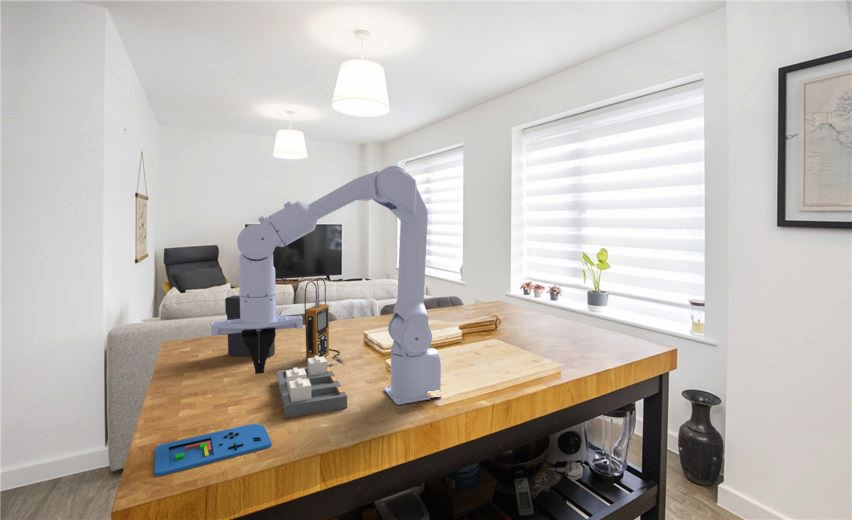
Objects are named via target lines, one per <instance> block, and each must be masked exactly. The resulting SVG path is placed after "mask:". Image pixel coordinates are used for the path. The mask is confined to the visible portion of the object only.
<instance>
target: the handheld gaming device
mask: <svg viewBox="0 0 852 520" xmlns="http://www.w3.org/2000/svg"><path fill="white" fill-rule="evenodd" d="M272 446H273V443H272V440H271V438H270V436H269V433H268V432H267V429H266V427H265V426H264V425H261V424H259V423H258V424H257V423H249V424H245V425H241V426H237V427H236V426H235V427H232V428H228V429H222V430H219V431H215V432H210V433H206V434H205V433H204V434H202V435H197V436H192V437H189V438H188V437H187V438H184V439H179V440H175V441H170V442H166V443H161V444H159V445H157V446H156V447H155V450H154V466H153V467H154V469H153V473H154V475H153V476H155V477H161V476H165V475H170V474H172V473H176V472H181V471H185V470H189V469H192V468H197V467H200V466H204V465H208V464H212V463H215V462H219V461H223V460H226V459H230V458H234V457H239V456H243V455H246V454H250V453H253V452H258V451H261V450H267V449H270V448H271V447H272Z"/></svg>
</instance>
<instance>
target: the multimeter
mask: <svg viewBox="0 0 852 520" xmlns="http://www.w3.org/2000/svg"><path fill="white" fill-rule="evenodd" d="M318 280H322V282H323V284H324V304H323V303H322V304H321V303H320V293H319V292H320V291H319V289H320V288H319V287H320V286H319V283H318ZM309 283H312V284H313V285H314V287H315V301H314V306H310V307H308V308H307V307H306V306H307V305H306V304H307V303H306V302H307V301H306V297H307V288H308V285H309ZM326 288H327V286H326V281H325V280H324V278H322V277H318V278H316V283H315V282H314V281H308V282H306V285H305V288H304V322H305V323H304V325H305V349H306V350H305V352H306V353H305V354H306V355H305V358H306V359H305V361H306V363H308V358H314V356H319V357H325V358H326V357H328V355H329V353H330V351H333V352H337V354H336V353H335V355H333V357H334V358H335V359H337V362H335V363H333V362H332V363H327V365H329V366H330V367H332V366H333V365H336V364H339V363H340V362H341V363H344V364H347V362H345V361H344V359H341V358H340V357H337V356H339V355H340V353H341V352H340V350H336V349H331V348H330V322H329V321H330V317H329V316H330V310H329V308H330V306H329V304H327V299H326V298H327V296H326V292H327V290H326ZM338 361H340V362H338Z"/></svg>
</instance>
